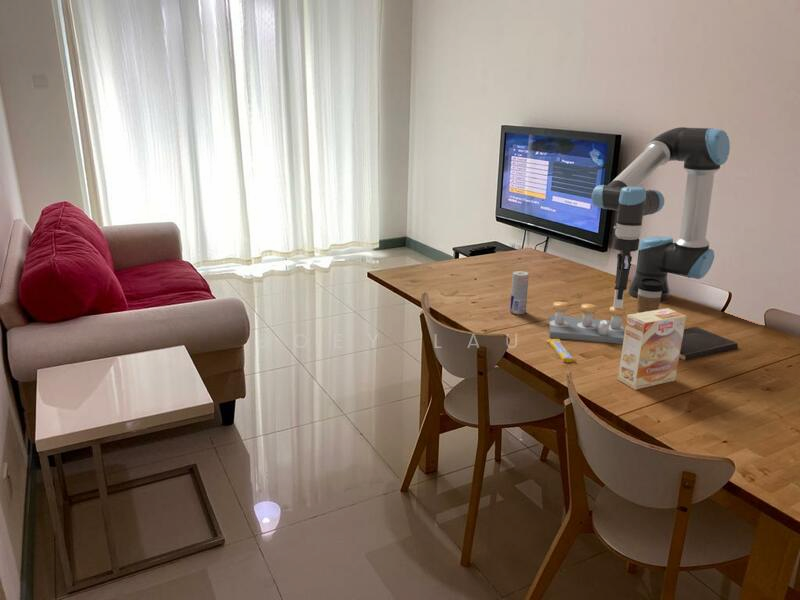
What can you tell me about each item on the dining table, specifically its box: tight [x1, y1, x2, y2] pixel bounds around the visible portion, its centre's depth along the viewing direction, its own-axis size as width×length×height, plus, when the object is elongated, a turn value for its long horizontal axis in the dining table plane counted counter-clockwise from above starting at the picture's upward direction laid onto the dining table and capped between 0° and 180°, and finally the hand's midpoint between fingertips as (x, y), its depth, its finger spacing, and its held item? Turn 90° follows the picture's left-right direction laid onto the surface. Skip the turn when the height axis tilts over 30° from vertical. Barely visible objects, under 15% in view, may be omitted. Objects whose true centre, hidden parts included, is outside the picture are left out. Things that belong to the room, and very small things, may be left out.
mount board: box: [548, 314, 625, 345], centre depth 205 cm, size 24×16×2 cm, turn 78°
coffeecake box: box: [617, 307, 687, 391], centre depth 168 cm, size 15×7×20 cm, turn 114°
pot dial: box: [598, 319, 610, 336], centre depth 197 cm, size 3×3×4 cm
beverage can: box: [509, 270, 529, 315], centre depth 221 cm, size 6×6×15 cm
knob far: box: [552, 301, 570, 324], centre depth 205 cm, size 5×5×7 cm
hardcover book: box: [679, 326, 739, 362], centre depth 195 cm, size 16×23×2 cm
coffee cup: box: [636, 278, 664, 313], centre depth 213 cm, size 8×8×15 cm
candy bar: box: [546, 338, 577, 364], centre depth 189 cm, size 17×4×2 cm, turn 4°
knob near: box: [608, 305, 627, 329], centre depth 202 cm, size 5×5×7 cm
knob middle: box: [580, 303, 598, 327], centre depth 204 cm, size 5×5×7 cm
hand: (617, 307), depth 201 cm, fingers closed
